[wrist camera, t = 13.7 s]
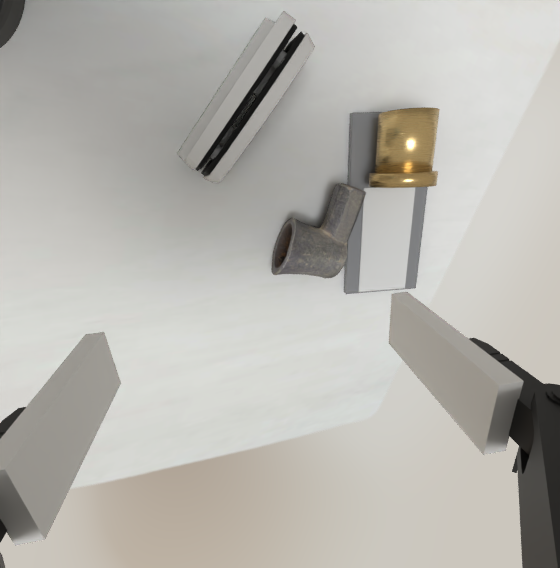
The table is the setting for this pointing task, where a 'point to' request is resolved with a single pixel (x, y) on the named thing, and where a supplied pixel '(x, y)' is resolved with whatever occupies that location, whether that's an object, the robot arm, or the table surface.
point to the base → (380, 220)
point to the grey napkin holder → (246, 97)
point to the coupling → (405, 149)
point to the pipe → (319, 238)
